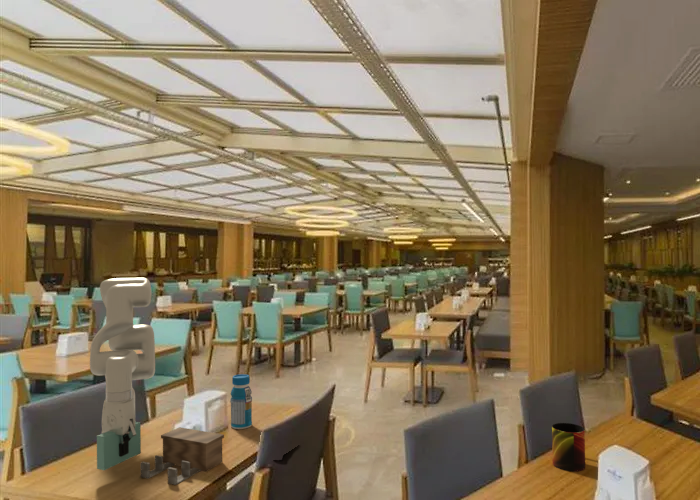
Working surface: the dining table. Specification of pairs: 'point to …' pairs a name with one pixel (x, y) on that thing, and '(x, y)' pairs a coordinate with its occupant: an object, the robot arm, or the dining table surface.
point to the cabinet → (186, 454)
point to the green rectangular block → (116, 448)
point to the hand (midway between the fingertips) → (119, 453)
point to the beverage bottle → (241, 402)
